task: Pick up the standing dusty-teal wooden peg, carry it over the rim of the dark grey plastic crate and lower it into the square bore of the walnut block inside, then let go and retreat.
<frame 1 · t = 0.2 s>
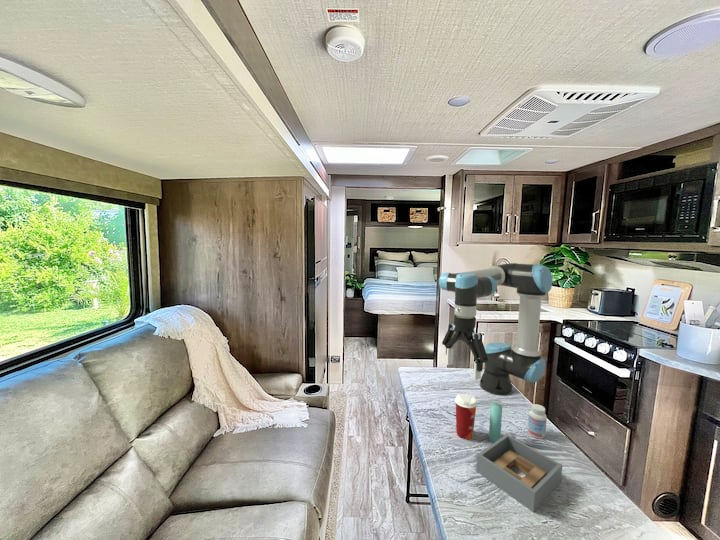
hand: (462, 371, 111), 27 cm above the table, fingers open, 13 cm apart
bore block: (518, 472, 96), in the crate
coffee cup: (464, 434, 117), on the table
peg: (494, 440, 114), on the table
pill bottle: (536, 434, 117), on the table
crate: (517, 476, 96), on the table
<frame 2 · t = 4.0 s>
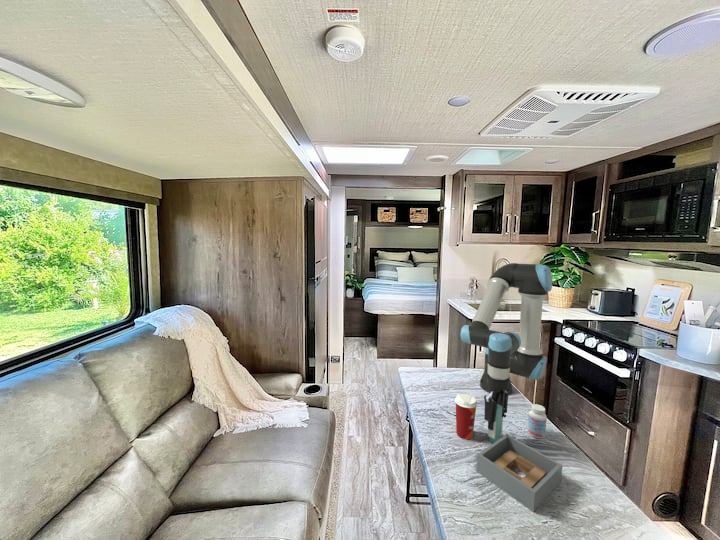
hand: (494, 433, 113), 3 cm above the table, fingers closed on peg, 4 cm apart
peg: (494, 440, 114), on the table, touching gripper
everything else where it was.
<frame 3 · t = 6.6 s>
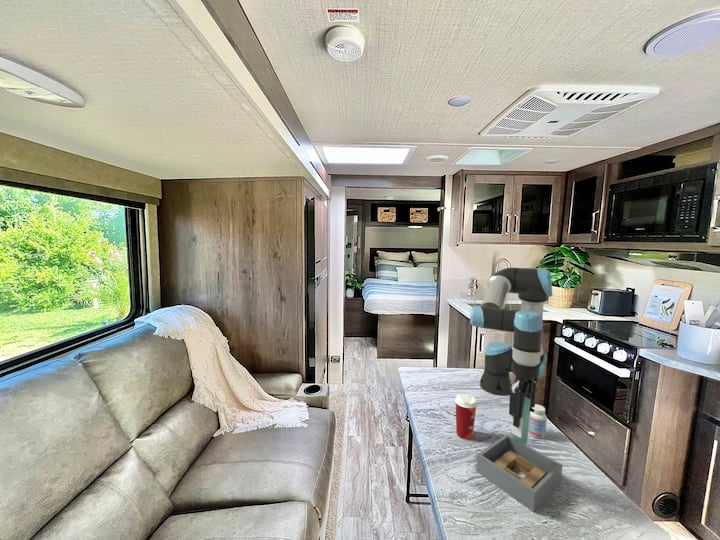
hand: (520, 432, 94), 16 cm above the table, fingers closed on peg, 4 cm apart
peg: (520, 440, 95), point 13 cm above the table, touching gripper
everything else where it was.
when the fingers open (4 cm above the table, at t = 9.2 s): peg drops 1 cm, resting in bore block.
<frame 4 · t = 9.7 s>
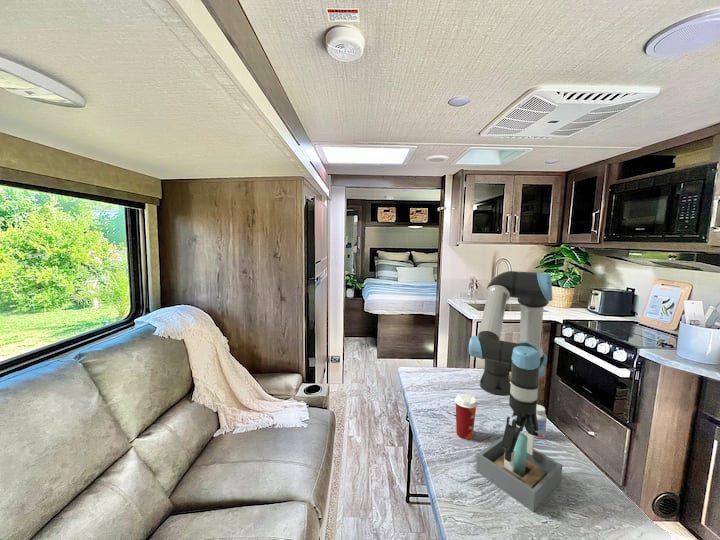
hand: (518, 460, 96), 6 cm above the table, fingers open, 11 cm apart
peg: (517, 476, 96), resting in bore block
everything else where it was.
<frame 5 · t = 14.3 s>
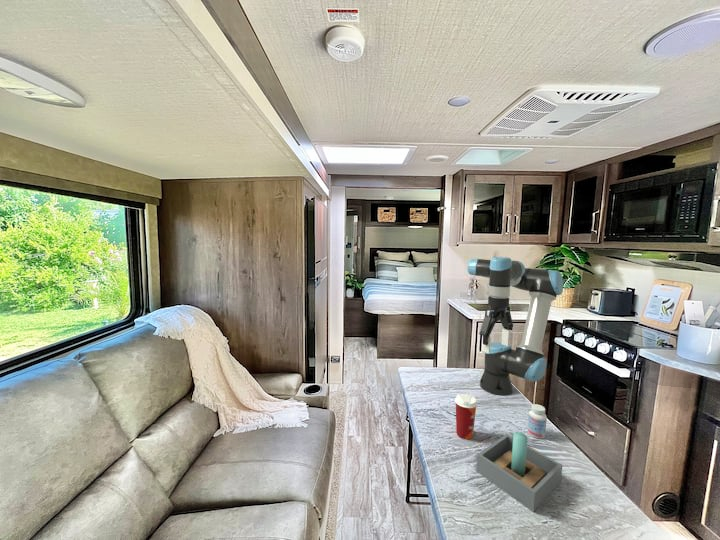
hand: (495, 348, 119), 33 cm above the table, fingers open, 13 cm apart
nothing on the table moved.
at the end: peg 0.0 cm off-centre on the bore block, point 0.0 cm above the bore block's base; peg tilted 0°; the gripper is holding nothing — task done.
